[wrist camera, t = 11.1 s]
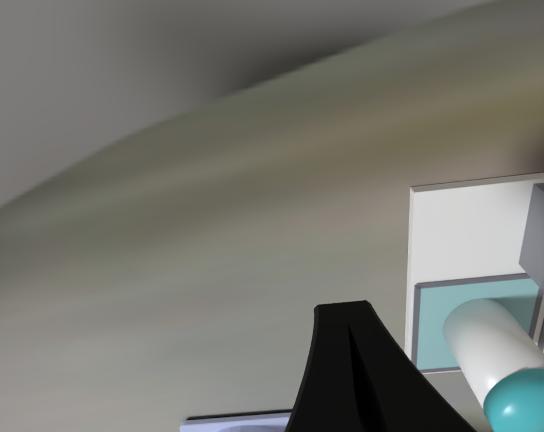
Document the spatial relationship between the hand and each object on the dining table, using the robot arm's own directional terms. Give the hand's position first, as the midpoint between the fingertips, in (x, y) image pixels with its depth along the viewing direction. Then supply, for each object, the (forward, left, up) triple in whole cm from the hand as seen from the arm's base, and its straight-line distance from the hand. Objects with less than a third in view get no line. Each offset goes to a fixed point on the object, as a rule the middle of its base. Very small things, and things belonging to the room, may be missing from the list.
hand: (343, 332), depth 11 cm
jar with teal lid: (-9, -8, -9) cm, 15 cm away
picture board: (-7, -11, -10) cm, 16 cm away
